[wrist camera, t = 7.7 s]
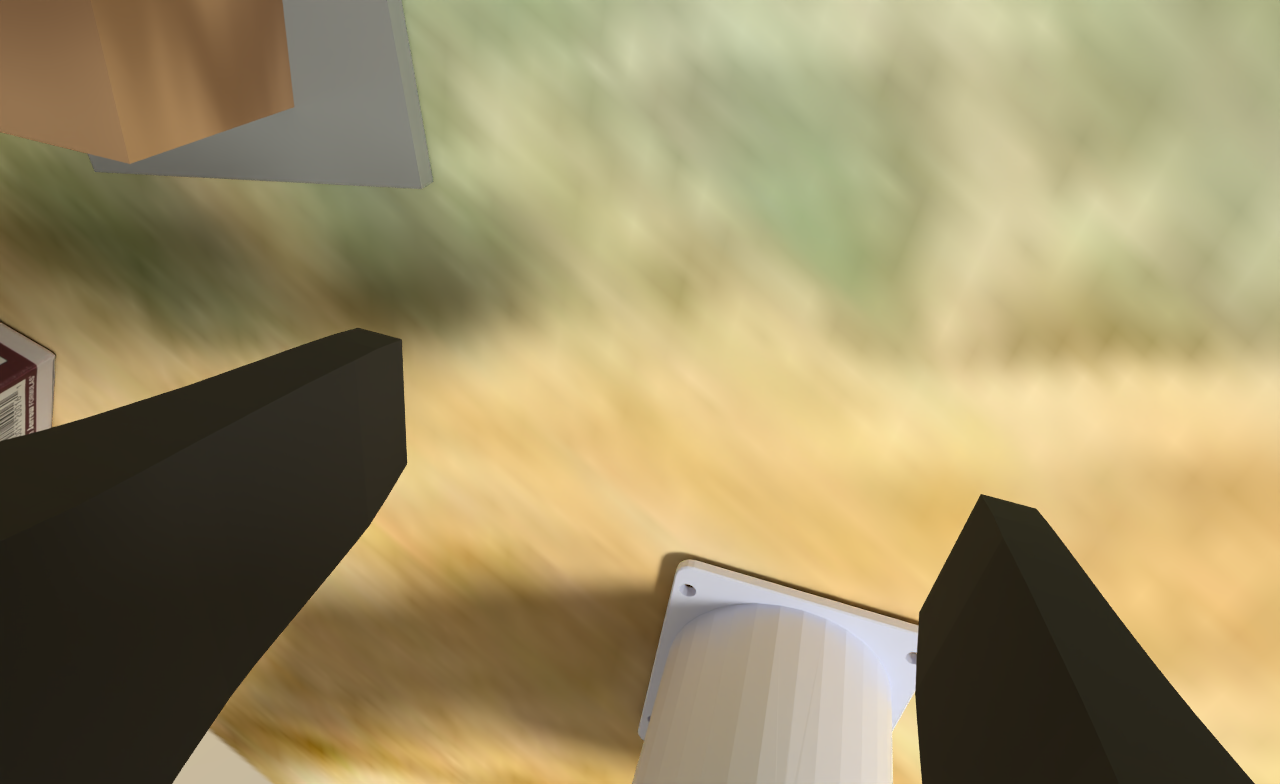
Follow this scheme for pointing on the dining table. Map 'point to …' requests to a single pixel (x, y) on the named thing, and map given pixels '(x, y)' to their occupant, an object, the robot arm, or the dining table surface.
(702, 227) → the dining table surface
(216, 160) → the slate coaster
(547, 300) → the dining table surface
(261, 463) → the robot arm
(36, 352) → the supplement box
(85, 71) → the walnut cube
